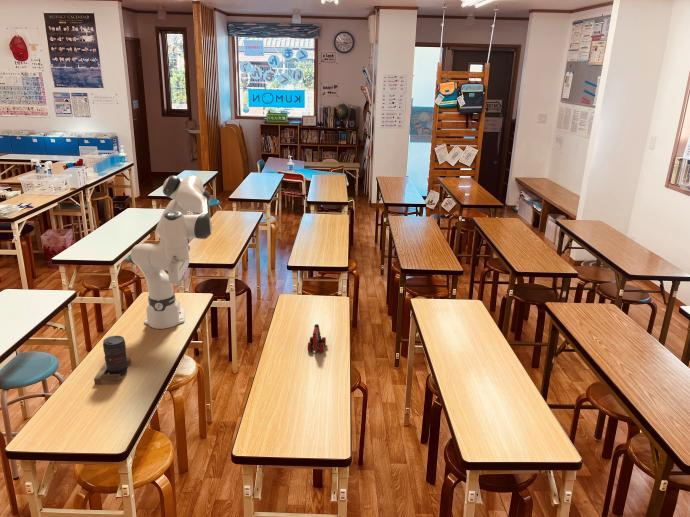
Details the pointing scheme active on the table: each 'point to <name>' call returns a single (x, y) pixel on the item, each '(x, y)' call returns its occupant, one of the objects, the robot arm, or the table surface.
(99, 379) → the lens cradle
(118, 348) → the camera lens
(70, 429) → the table surface
